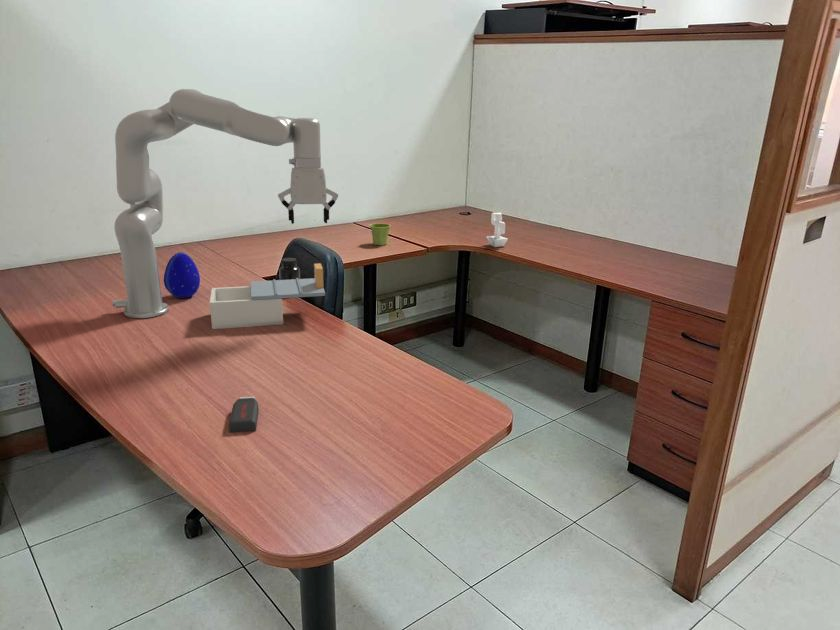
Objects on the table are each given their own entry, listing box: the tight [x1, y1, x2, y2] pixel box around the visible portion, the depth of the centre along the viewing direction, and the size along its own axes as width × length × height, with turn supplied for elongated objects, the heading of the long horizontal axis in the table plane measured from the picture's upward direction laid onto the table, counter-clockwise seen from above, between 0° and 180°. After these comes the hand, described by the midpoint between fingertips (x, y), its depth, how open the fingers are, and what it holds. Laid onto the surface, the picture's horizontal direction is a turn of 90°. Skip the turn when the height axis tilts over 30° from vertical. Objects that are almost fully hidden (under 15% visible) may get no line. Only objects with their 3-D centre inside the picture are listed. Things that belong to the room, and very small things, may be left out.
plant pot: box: [369, 222, 391, 247], centre depth 278 cm, size 9×9×9 cm
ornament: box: [163, 251, 201, 299], centre depth 201 cm, size 11×9×15 cm
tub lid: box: [250, 263, 326, 300], centre depth 185 cm, size 21×15×7 cm
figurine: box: [486, 212, 509, 248], centre depth 280 cm, size 7×9×15 cm
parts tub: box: [209, 285, 284, 330], centre depth 185 cm, size 20×14×8 cm
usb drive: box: [228, 395, 260, 434], centre depth 130 cm, size 5×12×3 cm, turn 10°
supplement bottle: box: [278, 257, 301, 280], centre depth 207 cm, size 7×7×12 cm
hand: (309, 222), depth 183 cm, fingers open, 9 cm apart
